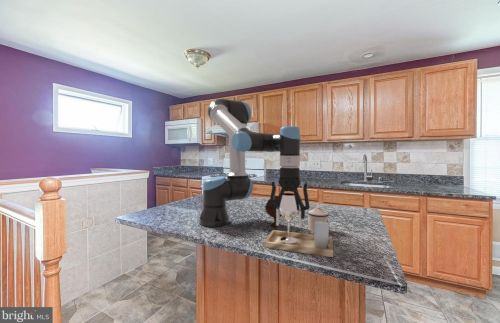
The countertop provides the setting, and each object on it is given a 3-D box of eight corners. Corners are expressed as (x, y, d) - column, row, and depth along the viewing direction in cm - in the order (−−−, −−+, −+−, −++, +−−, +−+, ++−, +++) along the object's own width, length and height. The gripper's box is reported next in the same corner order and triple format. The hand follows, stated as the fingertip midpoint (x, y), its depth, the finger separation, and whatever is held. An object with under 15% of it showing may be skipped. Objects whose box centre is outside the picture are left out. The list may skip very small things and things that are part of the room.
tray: (264, 250, 82) (264, 242, 82) (272, 236, 96) (272, 229, 96) (333, 260, 75) (333, 251, 75) (332, 244, 88) (332, 237, 88)
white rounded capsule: (313, 248, 81) (314, 224, 81) (314, 243, 86) (314, 220, 85) (328, 250, 79) (328, 225, 79) (328, 245, 84) (328, 221, 84)
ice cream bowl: (290, 225, 111) (291, 195, 111) (277, 230, 103) (278, 198, 103) (273, 220, 119) (274, 192, 118) (260, 225, 111) (260, 195, 110)
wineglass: (299, 245, 82) (299, 196, 81) (277, 243, 83) (277, 195, 83) (299, 237, 90) (299, 192, 89) (278, 235, 91) (279, 192, 91)
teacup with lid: (330, 236, 97) (330, 209, 97) (308, 234, 98) (309, 208, 98) (325, 227, 109) (325, 203, 108) (306, 226, 110) (306, 202, 110)
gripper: (260, 167, 85) (260, 225, 86) (317, 168, 79) (316, 232, 79) (265, 166, 92) (265, 220, 93) (318, 167, 86) (317, 225, 86)
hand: (288, 225), depth 86 cm, fingers closed on wineglass, 8 cm apart
